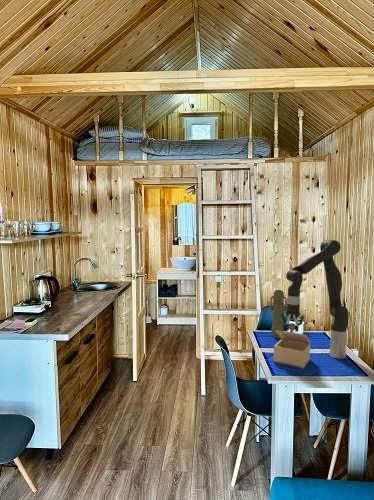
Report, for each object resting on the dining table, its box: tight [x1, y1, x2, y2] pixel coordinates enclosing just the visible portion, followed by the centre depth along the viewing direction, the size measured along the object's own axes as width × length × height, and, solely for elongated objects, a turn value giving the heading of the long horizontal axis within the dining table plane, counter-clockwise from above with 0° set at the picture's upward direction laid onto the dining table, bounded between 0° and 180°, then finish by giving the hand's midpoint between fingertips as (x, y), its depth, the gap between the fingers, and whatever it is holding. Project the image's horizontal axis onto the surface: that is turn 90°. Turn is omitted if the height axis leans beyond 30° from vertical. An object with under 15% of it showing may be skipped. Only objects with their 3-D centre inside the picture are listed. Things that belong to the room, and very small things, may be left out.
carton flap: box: [276, 322, 311, 345], centre depth 227 cm, size 18×16×7 cm
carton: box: [273, 338, 311, 369], centre depth 225 cm, size 18×16×10 cm
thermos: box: [269, 289, 287, 339], centre depth 273 cm, size 9×12×35 cm
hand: (292, 330), depth 223 cm, fingers closed on carton flap, 4 cm apart
